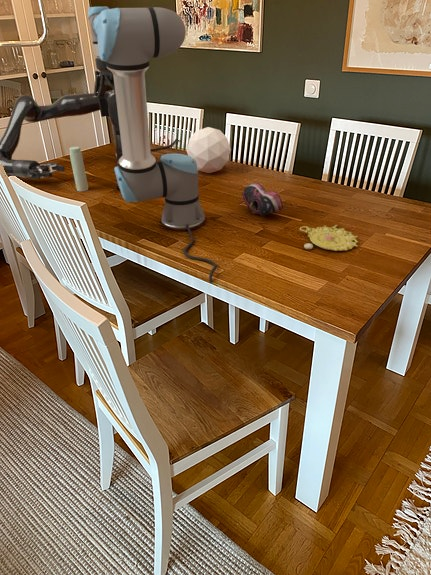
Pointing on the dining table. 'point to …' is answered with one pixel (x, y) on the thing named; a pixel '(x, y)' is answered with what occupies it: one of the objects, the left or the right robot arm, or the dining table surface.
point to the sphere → (209, 149)
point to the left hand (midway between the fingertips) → (57, 171)
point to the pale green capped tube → (78, 169)
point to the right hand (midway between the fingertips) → (114, 118)
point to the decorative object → (330, 238)
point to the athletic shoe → (261, 200)
